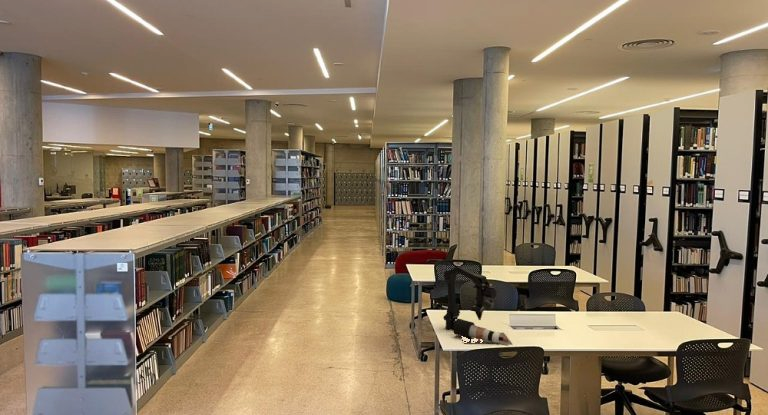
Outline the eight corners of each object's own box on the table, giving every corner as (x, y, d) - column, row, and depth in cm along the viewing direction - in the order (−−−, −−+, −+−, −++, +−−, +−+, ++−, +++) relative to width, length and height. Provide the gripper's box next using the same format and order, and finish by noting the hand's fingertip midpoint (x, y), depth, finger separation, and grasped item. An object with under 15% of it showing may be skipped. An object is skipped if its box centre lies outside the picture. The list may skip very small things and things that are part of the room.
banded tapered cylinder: (505, 352, 325) (504, 340, 320) (454, 337, 343) (452, 325, 338) (511, 341, 332) (510, 329, 327) (460, 327, 350) (459, 315, 345)
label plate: (463, 343, 328) (463, 343, 327) (458, 332, 353) (458, 331, 353) (512, 344, 327) (512, 344, 327) (503, 332, 353) (503, 332, 353)
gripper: (488, 300, 331) (487, 325, 332) (496, 294, 347) (496, 318, 348) (470, 297, 336) (470, 322, 337) (480, 292, 353) (479, 315, 353)
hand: (479, 319), depth 344 cm, fingers closed
